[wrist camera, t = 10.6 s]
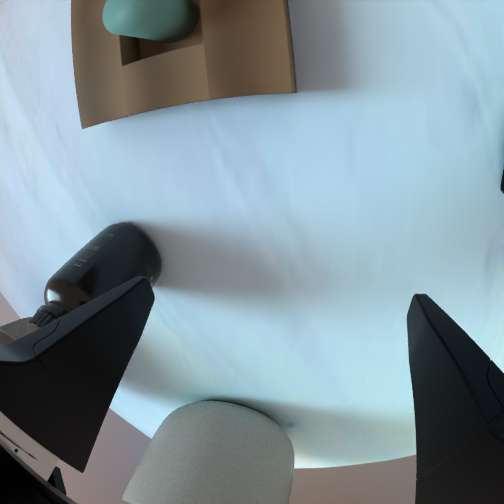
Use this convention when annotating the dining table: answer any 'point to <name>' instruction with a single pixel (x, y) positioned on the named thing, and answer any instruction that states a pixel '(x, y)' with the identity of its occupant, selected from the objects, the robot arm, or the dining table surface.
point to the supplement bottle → (98, 271)
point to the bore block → (181, 59)
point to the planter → (215, 459)
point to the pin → (151, 18)
